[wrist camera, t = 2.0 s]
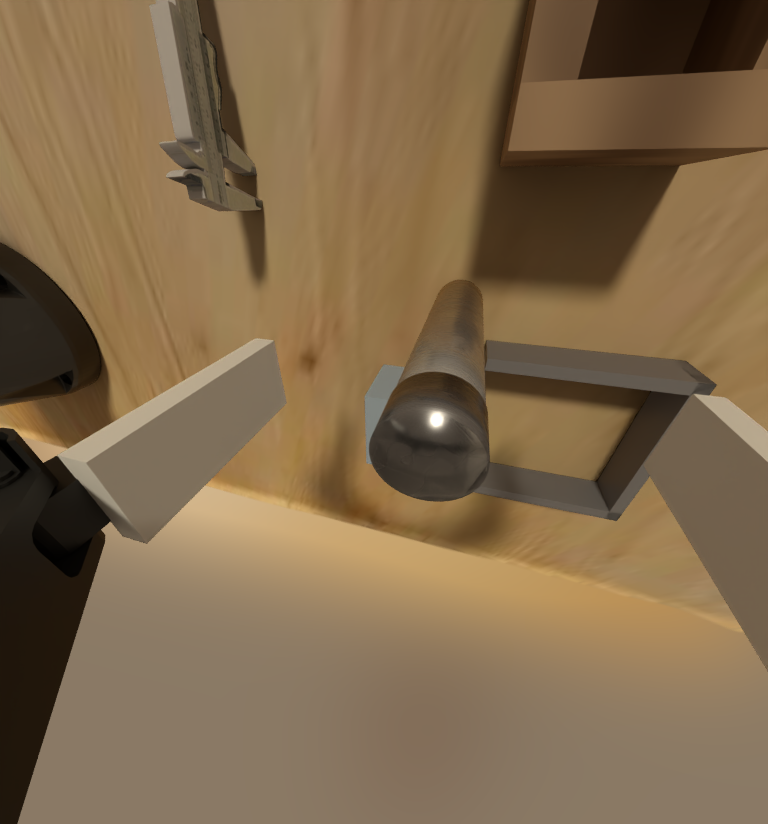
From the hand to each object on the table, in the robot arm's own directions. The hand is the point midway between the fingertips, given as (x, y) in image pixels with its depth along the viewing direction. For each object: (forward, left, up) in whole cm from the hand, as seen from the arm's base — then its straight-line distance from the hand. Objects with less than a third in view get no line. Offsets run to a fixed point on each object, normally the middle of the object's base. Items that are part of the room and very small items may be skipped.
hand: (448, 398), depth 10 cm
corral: (+8, -8, -12) cm, 16 cm away
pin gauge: (0, 0, -12) cm, 12 cm away
